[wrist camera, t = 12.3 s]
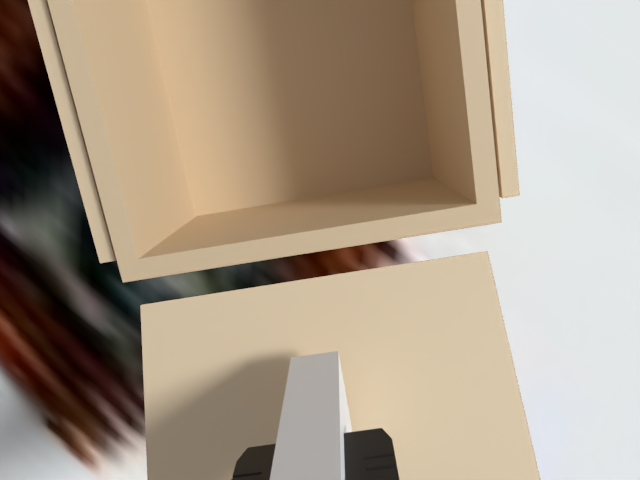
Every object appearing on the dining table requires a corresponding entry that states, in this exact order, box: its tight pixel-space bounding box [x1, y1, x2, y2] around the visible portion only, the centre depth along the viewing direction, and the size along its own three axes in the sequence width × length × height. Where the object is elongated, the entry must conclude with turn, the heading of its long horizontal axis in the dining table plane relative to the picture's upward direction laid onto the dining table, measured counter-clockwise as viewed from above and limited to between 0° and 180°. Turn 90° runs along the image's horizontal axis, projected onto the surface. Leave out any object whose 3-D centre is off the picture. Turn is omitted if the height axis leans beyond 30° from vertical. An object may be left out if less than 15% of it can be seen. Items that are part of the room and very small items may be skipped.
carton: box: [28, 0, 520, 283], centre depth 22 cm, size 18×16×9 cm
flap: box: [140, 251, 540, 480], centre depth 18 cm, size 1×12×8 cm
